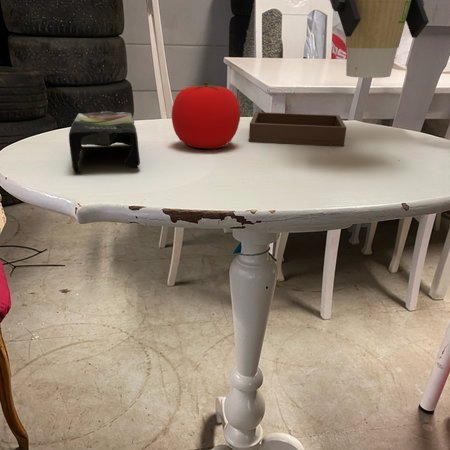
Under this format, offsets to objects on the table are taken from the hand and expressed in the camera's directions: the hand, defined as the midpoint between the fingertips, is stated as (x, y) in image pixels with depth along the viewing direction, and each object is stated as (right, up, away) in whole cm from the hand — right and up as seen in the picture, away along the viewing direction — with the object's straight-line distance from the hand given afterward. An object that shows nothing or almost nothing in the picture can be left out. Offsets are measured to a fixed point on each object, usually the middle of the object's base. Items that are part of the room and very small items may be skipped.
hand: (387, 29), depth 62 cm
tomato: (-25, -9, +21) cm, 34 cm away
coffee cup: (-1, -4, +6) cm, 7 cm away
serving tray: (-8, -3, +31) cm, 32 cm away
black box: (-40, -14, +12) cm, 44 cm away
